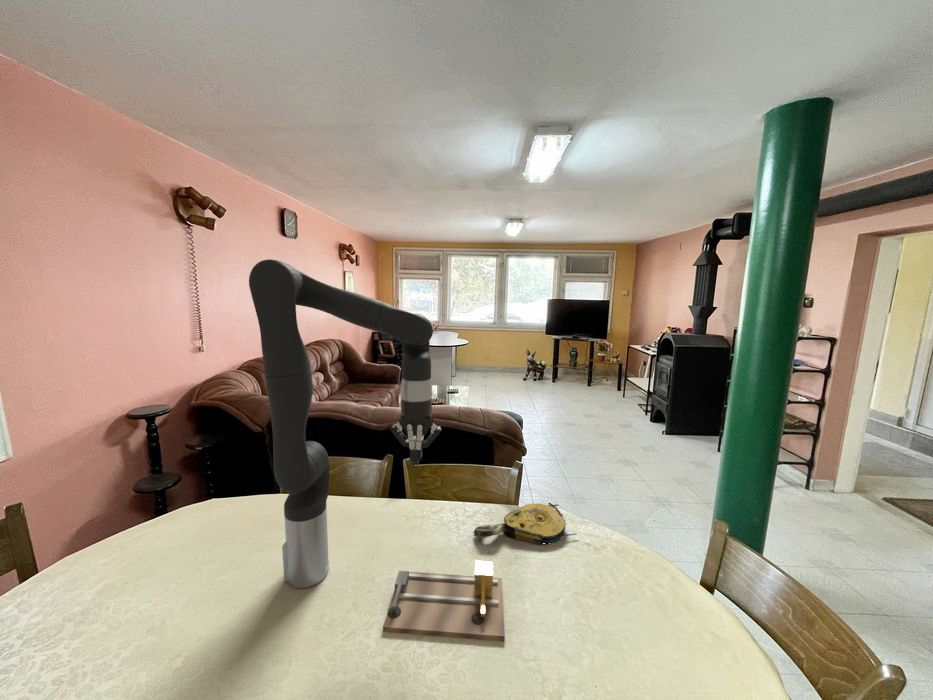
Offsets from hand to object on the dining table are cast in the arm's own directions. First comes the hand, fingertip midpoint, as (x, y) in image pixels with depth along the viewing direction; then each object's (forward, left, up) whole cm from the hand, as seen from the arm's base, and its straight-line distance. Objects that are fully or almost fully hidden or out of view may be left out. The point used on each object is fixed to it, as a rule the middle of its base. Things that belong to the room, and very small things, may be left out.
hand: (416, 461), depth 91 cm
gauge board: (+10, -14, -27) cm, 32 cm away
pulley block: (+29, +13, -28) cm, 42 cm away
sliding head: (+18, -14, -26) cm, 34 cm away
